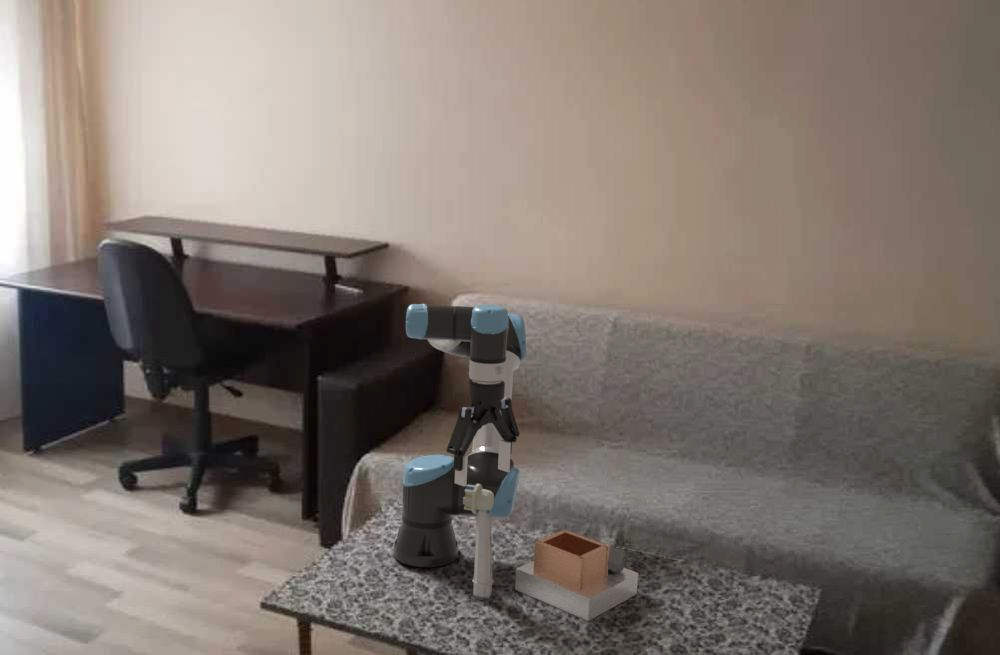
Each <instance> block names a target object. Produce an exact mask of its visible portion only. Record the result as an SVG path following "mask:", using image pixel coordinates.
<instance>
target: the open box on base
mask: <svg viewBox="0 0 1000 655" xmlns="http://www.w3.org/2000/svg"><path fill="white" fill-rule="evenodd" d="M533 553H534V556H533V560H531V561H530V562H527V563H525V564H522V565H521V566H519V567H516V570H515V583H514V585H515V586H514V587H515V588H514V590H515V591H518V592H519V593H522V594H524V595H527V596H529V597H531V598H534V599H536V600H538V601H540V602H543V603H545V604H548V605H550V606H552V607H555V608H557V609H559V610H561V611H564V612H566V613H568V614H571V615H573V616H576V617H577V618H580V619H582V620H585V621H587V622H589V621H591V620H593V619H594V618H597V617H598V616H600V615H602V614H603V613H605V612H607V611H609V610H611V609H612V608H613V609H614V608H615V607H616V606H618V605H620V604H622V603H624V602H625V601H627V600H629V599H631V598H632V596H633V597H635V596H636V595H637V592H638V583H639V581H638V580H639V572H637V571H633V570H631V569H628V568H626V563H627V558H628V556H627V553H626V551H624V550H621V549H619V548H615V547H612V546H610V545H608V544H605V543H603V542H600V541H597V540H595V539H591V538H590V537H589V538H588V537H587V536H583V535H581V534H578V533H576V532H573V531H569V530H567V529H562V530H560V531H557V532H556V533H554V534H550V535H549V536H546V537H544V538H541V539H539V540H537V541H535V542H534V552H533ZM635 594H636V595H635ZM630 597H631V598H630Z"/></svg>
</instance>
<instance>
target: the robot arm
mask: <svg viewBox="0 0 1000 655" xmlns="http://www.w3.org/2000/svg"><path fill="white" fill-rule="evenodd" d="M525 326H526V325H525V321H524V318H523V317H522V316H521V315H520V314H515V313H509V311H508V309H507V308H506V307H504V306H501V305H496V304H480V305H475V306H463V305H462V306H459V305H443V304H441V305H438V304H427V303H419V304H418V303H411V304H409V305H408V307H407V308H406V316H405V334H406V336H407V337H408V338H409V339H418V340H427V341H428V343H429V345H431V346H432V347H433V348H435V349H436V350H438V351H441V352H443V353H446V354H450V355H453V356H457V357H461V358H462V357H464V358H469V368H468V378H470V380H469V381H468V391H467V392H468V397H469V399H470V401H471V402H470V406H469V407H468V406H467V407H466V406H464V405H462V406H461V405H460V407H459V410H458V417H457V420H456V423H455V425H454V429H453V431H452V434H451V437H450V439H449V442H448V443H447V444H448V445H447V447H446V453H449V454H451V455H453V457H452V456H450V455H446V454H428V455H424V456H419V457H417V458H414V459H411V460H409V462H408V463H407V464H406V465H405V467H404V468H403V469H404V470H403V479H402V482H401V483H402V510H401V511H402V513H401V514H402V515H401V516H402V517H401V525H400V527H399V529H398V533H397V537H396V539H395V540H394V543H393V557H394V558H395V560H397V561H398V562H401V563H402V564H405V565H407V566H411V567H417V568H435V567H443V566H445V565H446V566H447V565H448V564H451V563H453V562H455V561H456V560H457V558H458V557H459V542H458V541H457V538H456V534H455V530H454V527H453V516H460V517H462V516H463V517H476V518H477V514H474V513H473V512H472V511H467V510H465V509H464V507H465V504H463V497H465V494H466V492H465V488H466V486H467V485H468V484H470V485H476V484H481V486H482V489H486V490H489V491H491V492H492V493H493V494H494V504H493V507H492V509H491V519H493V518H494V519H495V518H502V519H503V518H508V517H509V516H511V515H512V513H513V510H514V507H515V503H516V498H517V493H518V487H519V483H520V482H519V481H520V469H519V468H518V467H516V466H515V462H514V461H515V460H514V458H512V457H511V455H512V450H513V443H516V442H517V441H518V440H517V438H518V437H520V434H521V433H520V430H519V426H518V424H517V420H516V418H515V415H514V411H513V408H512V403H513V402H512V399H513V386H514V383H513V382H514V371H516V370H517V369H518V368H519V367H520V365H521V362H522V361H525V360H526V358H527V341H526V340H527V337H526V327H525ZM471 444H472V448H471V449H472V451H471V452H470V453H469V454H468V455H467V454H466V453H467V451H468V449H469V447H470V446H471Z"/></svg>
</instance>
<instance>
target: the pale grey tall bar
mask: <svg viewBox="0 0 1000 655" xmlns="http://www.w3.org/2000/svg"><path fill="white" fill-rule="evenodd" d="M465 492H466V494H465V497H463V504H465V507H464V509H465V510H467V511H472V512H473V513H474V514H477V517H476V524H475V525H476V527H475V528H476V530H475V548H474V551H475V552H474V565H473V566H474V569H473V572H474V573H473V578H472V580H471V582H472V583H473V591H472V593H473V595H472V597H474V598H475V599H476V600H479V601H485V600H489V599H490V598H491V597H492V591H493V583H494V582H495V580H494V579H493V550H492V549H493V548H492V547H493V545H492V544H493V543H492V540H493V539H492V537H493V536H492V518H491V509H492V507H493V504H494V494H493V493H492V492H491V491H489V490H486V489H482V486H481V484H476V485H470V484H468V485H467V486H466V488H465Z"/></svg>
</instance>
